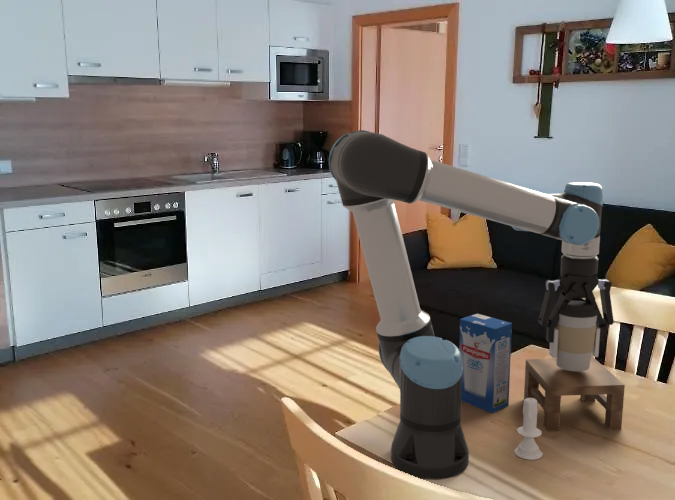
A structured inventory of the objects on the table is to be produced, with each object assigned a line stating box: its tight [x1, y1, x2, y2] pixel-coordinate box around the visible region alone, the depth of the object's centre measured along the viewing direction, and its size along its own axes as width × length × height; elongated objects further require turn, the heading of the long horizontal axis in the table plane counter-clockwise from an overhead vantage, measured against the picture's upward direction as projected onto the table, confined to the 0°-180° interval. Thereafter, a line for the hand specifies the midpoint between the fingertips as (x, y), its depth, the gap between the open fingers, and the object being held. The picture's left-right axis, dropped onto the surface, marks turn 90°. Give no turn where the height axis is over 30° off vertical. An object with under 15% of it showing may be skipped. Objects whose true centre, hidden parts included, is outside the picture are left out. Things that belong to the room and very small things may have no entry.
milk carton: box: [458, 313, 513, 414], centre depth 155 cm, size 10×6×20 cm, turn 40°
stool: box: [523, 357, 626, 432], centre depth 150 cm, size 16×16×10 cm
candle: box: [514, 398, 543, 461], centre depth 132 cm, size 5×5×12 cm
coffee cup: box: [555, 297, 599, 371], centre depth 147 cm, size 9×9×15 cm
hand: (573, 355), depth 148 cm, fingers closed on coffee cup, 8 cm apart
